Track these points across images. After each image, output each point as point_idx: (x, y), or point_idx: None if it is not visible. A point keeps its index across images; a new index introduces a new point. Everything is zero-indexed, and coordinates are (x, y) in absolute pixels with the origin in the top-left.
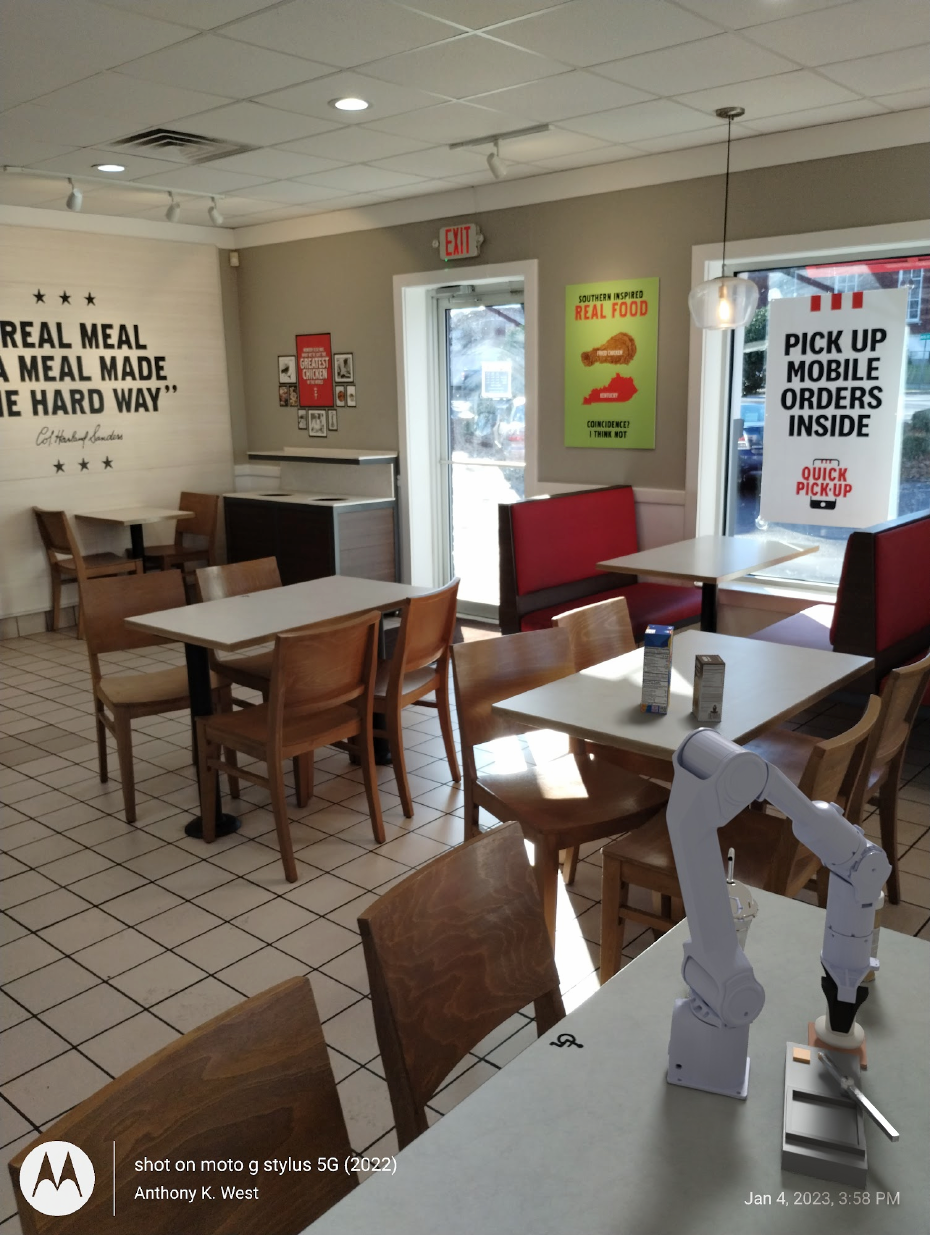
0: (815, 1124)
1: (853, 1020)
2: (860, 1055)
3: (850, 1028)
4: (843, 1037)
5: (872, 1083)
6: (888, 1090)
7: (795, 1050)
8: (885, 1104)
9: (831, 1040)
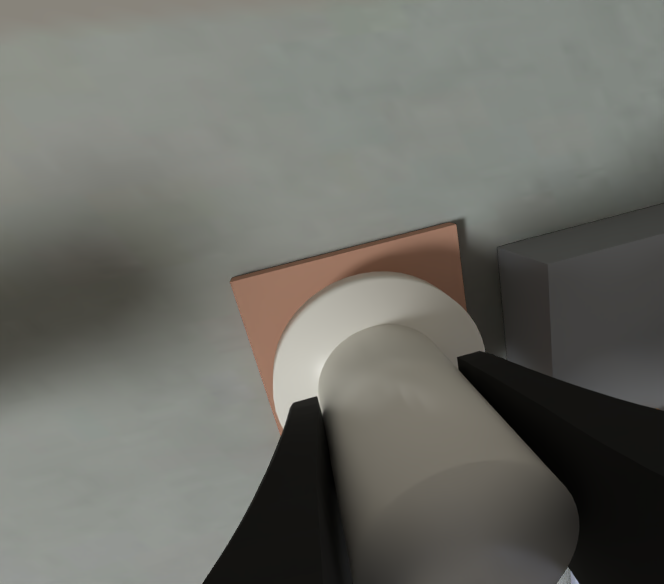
0: None
1: (550, 376)
2: (407, 260)
3: (499, 357)
4: (446, 353)
5: (529, 184)
6: (548, 119)
7: None
8: (633, 117)
9: None
